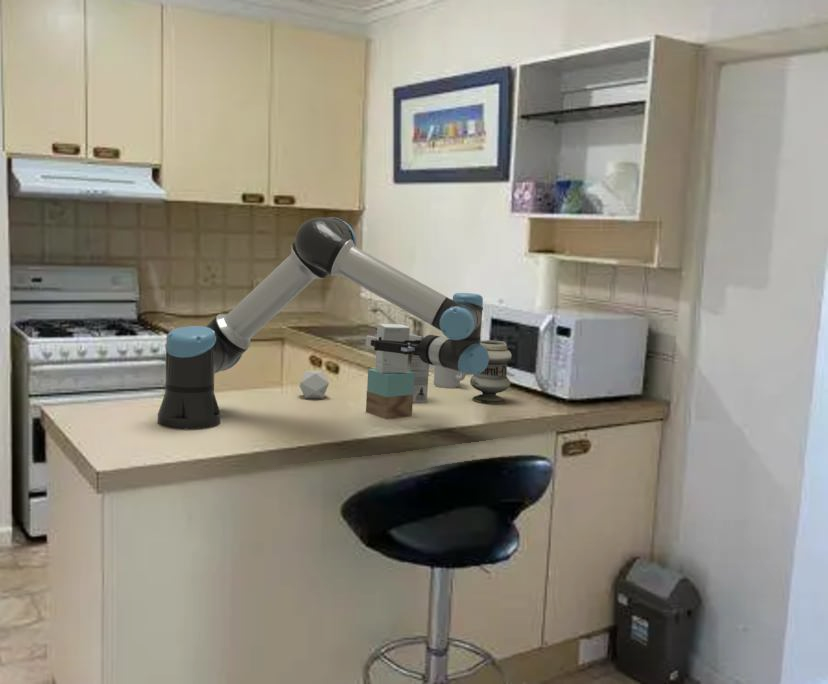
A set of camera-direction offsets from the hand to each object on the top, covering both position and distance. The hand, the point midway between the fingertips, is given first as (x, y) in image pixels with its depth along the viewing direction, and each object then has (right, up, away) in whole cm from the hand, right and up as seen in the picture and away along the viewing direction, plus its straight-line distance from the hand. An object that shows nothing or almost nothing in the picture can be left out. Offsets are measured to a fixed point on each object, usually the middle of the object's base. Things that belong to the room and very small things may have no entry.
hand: (387, 339), depth 241 cm
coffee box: (+7, -18, +21) cm, 29 cm away
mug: (+19, -15, +45) cm, 52 cm away
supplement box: (+1, -9, -1) cm, 9 cm away
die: (-22, -17, +17) cm, 33 cm away
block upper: (+1, -15, 0) cm, 15 cm away
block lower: (0, -20, +1) cm, 20 cm away
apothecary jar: (+30, -19, +26) cm, 44 cm away
